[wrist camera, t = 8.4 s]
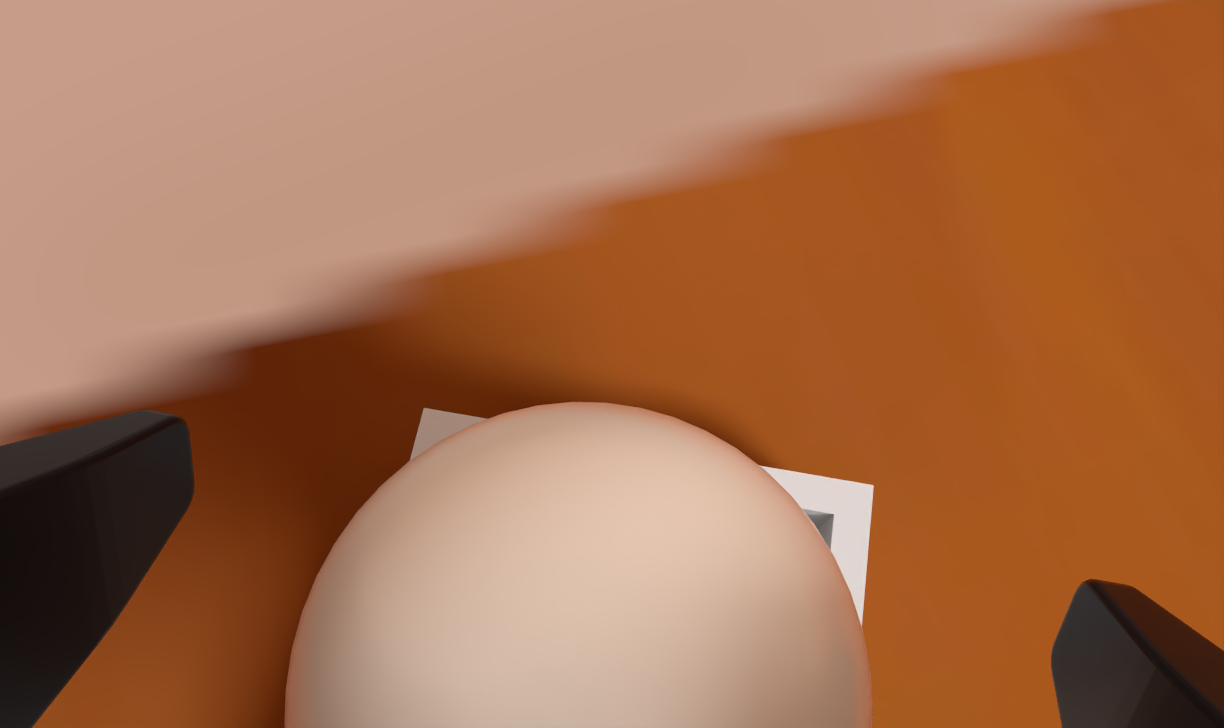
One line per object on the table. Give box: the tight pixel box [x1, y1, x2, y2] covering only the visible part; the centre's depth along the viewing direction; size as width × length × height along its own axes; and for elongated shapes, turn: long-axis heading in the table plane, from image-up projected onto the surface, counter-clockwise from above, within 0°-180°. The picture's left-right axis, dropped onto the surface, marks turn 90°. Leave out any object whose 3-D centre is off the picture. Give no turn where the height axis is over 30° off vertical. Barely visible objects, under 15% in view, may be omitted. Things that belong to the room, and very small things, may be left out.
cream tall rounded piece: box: [285, 402, 873, 728], centre depth 11 cm, size 5×5×11 cm
